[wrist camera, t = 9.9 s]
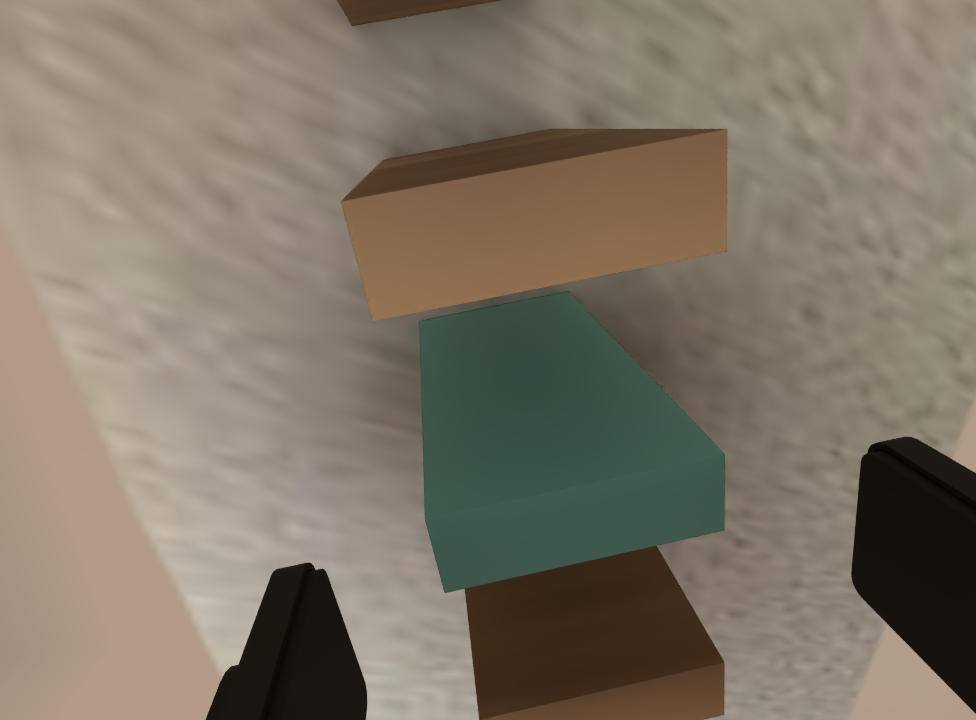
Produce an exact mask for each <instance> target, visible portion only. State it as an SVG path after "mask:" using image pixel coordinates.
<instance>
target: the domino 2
mask: <svg viewBox="0 0 976 720" xmlns="http://www.w3.org/2000/svg"><path fill="white" fill-rule="evenodd" d="M419 326H420V361H421V396H422V431H423V466H424V501H425V521H426V525H427V529H428V532H429V536H430V540H431V544H432V547H433V551H434V555H435V559H436V562H437V566H438V570H439V574H440V577H441V581H442V585H443V589H444V592H445V593H447V592H452V591H456V590H460V589H465V588H469V587H474V586H478V585H483V584H487V583H492V582H496V581H501V580H505V579H510V578H514V577H518V576H523V575H527V574H532V573H536V572H541V571H545V570H550V569H554V568H559V567H563V566H568V565H572V564H576V563H581V562H585V561H590V560H594V559H599V558H603V557H608V556H612V555H617V554H621V553H626V552H630V551H634V550H639V549H643V548H648V547H652V546H657V545H661V544H666V543H670V542H675V541H679V540H684V539H688V538H692V537H697V536H701V535H706V534H710V533H715V532H719V531H724V506H725V454H724V453H723V452H722V451H721V450H720V449H719V448H718V447H717V446H716V445H715V444H714V442H713V441H712V440H711V439H710V438H709V437H708V436H707V435H706V434H705V433H704V432H703V431H702V430H701V429H700V428H699V427H698V426H697V425H696V424H695V423H694V422H693V421H692V419H691V418H690V417H689V416H688V415H687V414H686V413H685V412H684V411H683V410H682V409H681V408H680V407H679V406H678V405H677V404H676V403H675V402H674V401H673V400H672V399H671V398H670V397H669V395H668V394H667V393H666V392H665V391H664V390H663V389H662V388H661V387H660V386H659V385H658V384H657V383H656V382H655V381H654V380H653V379H652V378H651V377H650V376H649V375H648V374H647V372H646V371H645V370H644V369H643V368H642V367H641V366H640V365H639V364H638V363H637V362H636V361H635V360H634V359H633V358H632V357H631V356H630V355H629V354H628V353H627V352H626V351H625V349H624V348H623V347H622V346H621V345H620V344H619V343H618V342H617V341H616V340H615V339H614V338H613V337H612V336H611V335H610V334H609V333H608V332H607V331H606V330H605V329H604V328H603V326H602V325H601V324H600V323H599V322H598V321H597V320H596V319H595V318H594V317H593V316H592V315H591V314H590V313H589V312H588V311H587V310H586V309H585V308H584V307H583V306H582V305H581V303H580V302H579V301H578V300H577V299H576V298H575V297H574V296H573V295H572V294H571V293H570V292H569V291H568V292H563V293H558V294H553V295H548V296H543V297H538V298H533V299H528V300H523V301H518V302H513V303H508V304H503V305H498V306H493V307H488V308H483V309H478V310H473V311H468V312H463V313H458V314H453V315H448V316H443V317H438V318H433V319H428V320H423V321H419Z"/></svg>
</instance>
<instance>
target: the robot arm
mask: <svg viewBox="0 0 976 720" xmlns="http://www.w3.org/2000/svg"><path fill="white" fill-rule="evenodd" d="M851 575H852V581H853V584H854V586H855V589H856V590H857V592H858V594H859V595H860V596H861V597H862V598H863V599H864V600H865V601H866V602H867V604H868V605H869V606H870V607H871V608H872V609H873V610H874V611H875V612H876V613H877V614H878V615H879V616H880V617H881V618H882V619H883V620H884V621H885V622H886V623H887V624H888V625H889V626H890V627H891V628H892V629H893V630H894V631H895V632H896V633H897V634H898V635H899V636H900V637H901V638H902V639H903V640H904V641H905V642H906V643H907V644H908V645H909V646H910V647H911V648H912V649H913V650H914V651H915V652H916V653H917V654H918V655H919V656H920V657H921V658H922V659H923V661H924V662H925V663H926V664H928V666H930V668H931V669H932V670H933V671H934V672H935V673H936V674H937V675H938V676H939V677H940V678H941V679H942V680H943V681H944V682H945V683H946V684H947V685H948V686H949V687H950V688H951V689H952V690H953V691H954V692H955V693H956V694H957V695H958V696H959V697H960V698H961V699H962V700H963V701H964V702H965V703H966V704H967V705H968V706H969V707H970V708H971V709H972V710H973V711H974V712H975V713H976V473H974V472H973V471H971V470H969V469H967V468H966V467H964V466H962V465H961V464H959V463H957V462H956V461H954V460H952V459H950V458H949V457H947V456H945V455H943V454H942V453H940V452H938V451H937V450H935V449H933V448H931V447H930V446H928V445H926V444H925V443H923V442H921V441H919V440H918V439H915V438H913V437H902V438H897V439H892V440H887V441H883V442H878V443H875V444H872V445H871V446H870V448H869V449H868V453H867V454H865V455H864V456H863V457H862V460H861V467H860V479H859V490H858V502H857V514H856V525H855V537H854V549H853V560H852V572H851ZM366 712H367V690H366V684H365V681H364V678H363V675H362V672H361V669H360V666H359V663H358V661H357V658H356V655H355V652H354V649H353V646H352V644H351V641H350V638H349V635H348V632H347V629H346V627H345V624H344V621H343V618H342V615H341V612H340V609H339V607H338V604H337V601H336V598H335V595H334V592H333V590H332V587H331V584H330V581H329V578H328V575H327V573H326V571H325V570H324V569H319V570H315V568H314V566H313V565H312V564H311V563H304V564H299V565H294V566H290V567H285V568H280V569H276V570H275V571H273V573H272V575H271V578H270V580H269V583H268V586H267V588H266V591H265V594H264V597H263V599H262V602H261V605H260V608H259V610H258V613H257V616H256V619H255V621H254V624H253V627H252V629H251V632H250V635H249V638H248V640H247V643H246V646H245V649H244V651H243V654H242V657H241V659H240V662H239V665H235V666H231V667H230V668H229V669H228V670H227V671H226V672H225V674H224V676H223V678H222V680H221V682H220V684H219V687H218V689H217V692H216V695H215V697H214V699H213V702H212V705H211V707H210V710H209V712H208V715H207V718H206V720H366Z"/></svg>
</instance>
